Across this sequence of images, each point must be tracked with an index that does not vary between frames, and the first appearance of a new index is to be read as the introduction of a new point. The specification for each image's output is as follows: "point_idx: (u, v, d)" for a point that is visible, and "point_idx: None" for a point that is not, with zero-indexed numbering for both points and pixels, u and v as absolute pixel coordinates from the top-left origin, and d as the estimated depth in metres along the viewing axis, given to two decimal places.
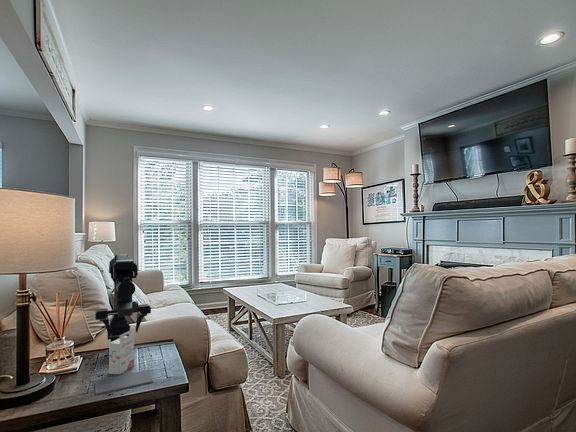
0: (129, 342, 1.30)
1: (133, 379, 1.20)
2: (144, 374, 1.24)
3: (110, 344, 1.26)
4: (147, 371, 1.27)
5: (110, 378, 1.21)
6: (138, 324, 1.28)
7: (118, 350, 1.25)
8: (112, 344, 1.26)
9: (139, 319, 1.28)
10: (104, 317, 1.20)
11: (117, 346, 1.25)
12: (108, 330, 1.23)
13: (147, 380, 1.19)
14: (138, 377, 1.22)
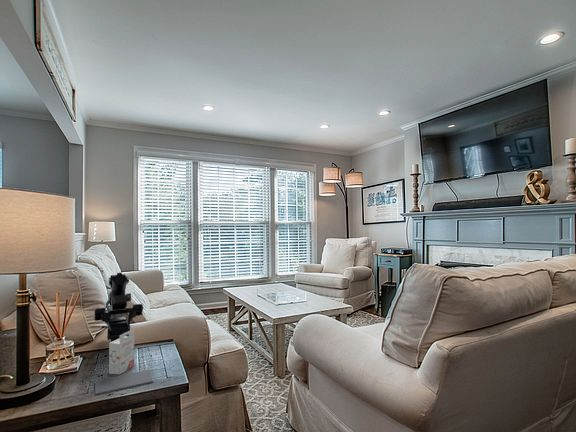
0: (129, 342, 1.30)
1: (133, 379, 1.20)
2: (144, 374, 1.24)
3: (110, 344, 1.26)
4: (147, 371, 1.27)
5: (110, 378, 1.21)
6: (129, 319, 1.43)
7: (118, 350, 1.25)
8: (112, 344, 1.26)
9: (130, 315, 1.44)
10: (102, 311, 1.40)
11: (117, 346, 1.25)
12: (110, 324, 1.39)
13: (147, 380, 1.19)
14: (138, 377, 1.22)
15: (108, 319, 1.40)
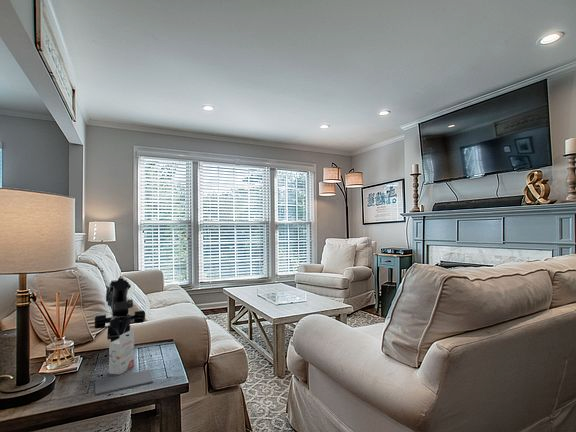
0: (129, 342, 1.30)
1: (133, 379, 1.20)
2: (144, 374, 1.24)
3: (110, 344, 1.26)
4: (147, 371, 1.27)
5: (110, 378, 1.21)
6: (123, 328, 1.35)
7: (118, 350, 1.25)
8: (112, 344, 1.26)
9: (123, 323, 1.36)
10: (102, 318, 1.33)
11: (117, 346, 1.25)
12: (119, 330, 1.34)
13: (147, 380, 1.19)
14: (138, 377, 1.22)
15: (117, 326, 1.35)
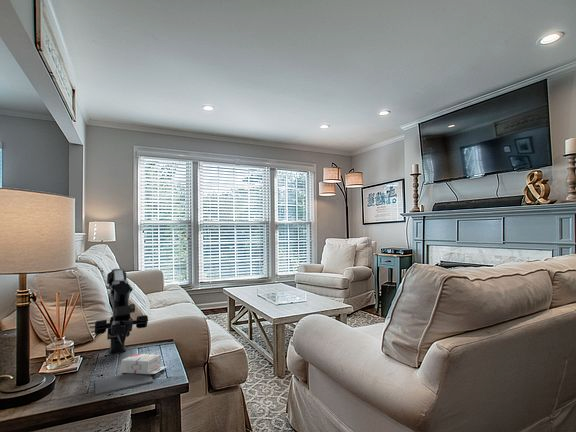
0: None
1: (133, 379, 1.20)
2: (144, 374, 1.24)
3: (146, 363, 1.23)
4: None
5: (110, 378, 1.21)
6: (124, 334, 1.28)
7: (141, 372, 1.23)
8: (146, 365, 1.23)
9: (125, 329, 1.29)
10: (103, 323, 1.26)
11: (144, 371, 1.23)
12: (120, 337, 1.27)
13: (147, 380, 1.19)
14: (138, 377, 1.22)
15: (119, 331, 1.28)
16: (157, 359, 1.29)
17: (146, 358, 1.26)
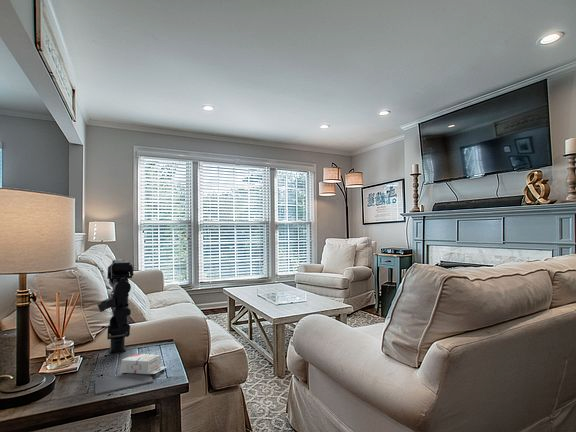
0: None
1: (133, 379, 1.20)
2: (144, 374, 1.24)
3: (146, 363, 1.23)
4: None
5: (110, 378, 1.21)
6: (117, 321, 1.38)
7: (141, 372, 1.23)
8: (146, 365, 1.23)
9: (116, 317, 1.38)
10: (111, 307, 1.44)
11: (144, 371, 1.23)
12: (117, 322, 1.39)
13: (147, 380, 1.19)
14: (138, 377, 1.22)
15: None
16: (157, 359, 1.29)
17: (146, 358, 1.26)
